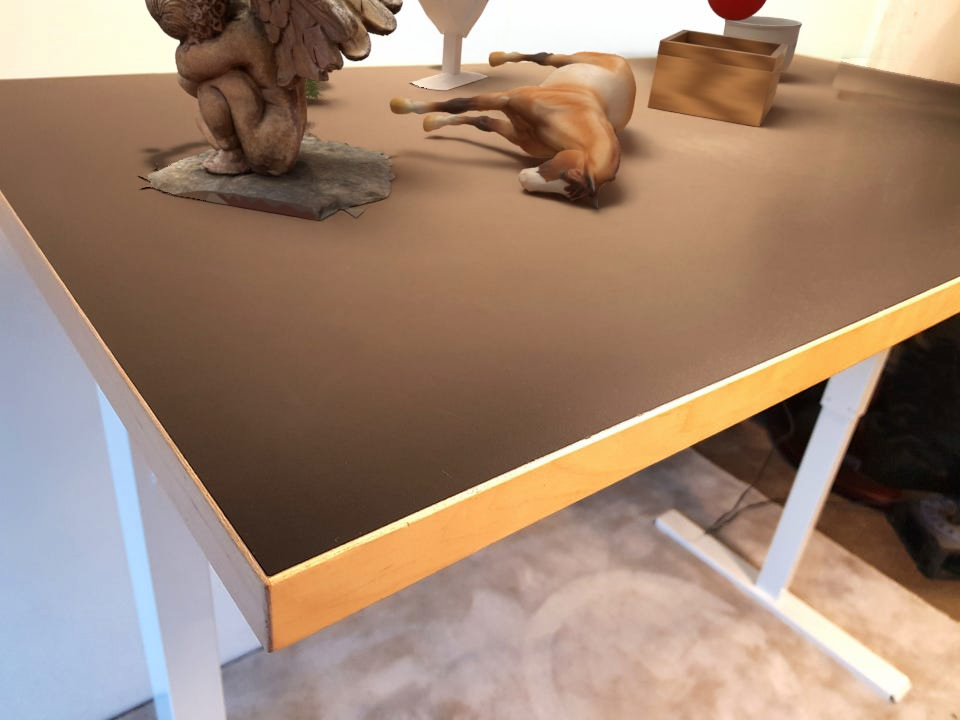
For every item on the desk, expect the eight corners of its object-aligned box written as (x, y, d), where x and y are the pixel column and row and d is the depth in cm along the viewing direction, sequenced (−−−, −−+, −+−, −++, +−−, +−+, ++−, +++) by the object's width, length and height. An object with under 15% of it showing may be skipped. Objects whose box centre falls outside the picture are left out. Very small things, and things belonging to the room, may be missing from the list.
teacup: (776, 86, 114) (791, 26, 109) (703, 72, 118) (716, 14, 114) (799, 75, 124) (814, 20, 120) (732, 63, 129) (744, 9, 125)
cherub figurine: (243, 129, 72) (228, -98, 62) (432, 160, 68) (444, -76, 59) (115, 184, 57) (70, -104, 48) (348, 228, 53) (347, -74, 44)
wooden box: (771, 107, 100) (788, 44, 97) (758, 127, 90) (776, 57, 86) (671, 90, 105) (683, 29, 101) (647, 107, 94) (659, 40, 90)
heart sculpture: (437, 93, 91) (447, -86, 82) (400, 85, 93) (406, -90, 84) (495, 74, 104) (509, -83, 94) (461, 68, 105) (472, -87, 96)
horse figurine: (369, 180, 68) (599, 212, 60) (360, 85, 64) (605, 107, 56) (516, 105, 92) (694, 121, 84) (516, 33, 88) (703, 43, 80)
